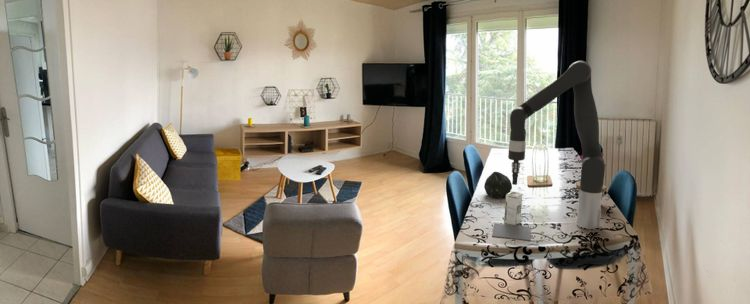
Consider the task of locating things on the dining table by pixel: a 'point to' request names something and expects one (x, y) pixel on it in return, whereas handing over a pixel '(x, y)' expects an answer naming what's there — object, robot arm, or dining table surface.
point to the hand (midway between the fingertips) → (514, 184)
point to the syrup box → (513, 208)
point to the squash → (497, 185)
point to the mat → (511, 231)
